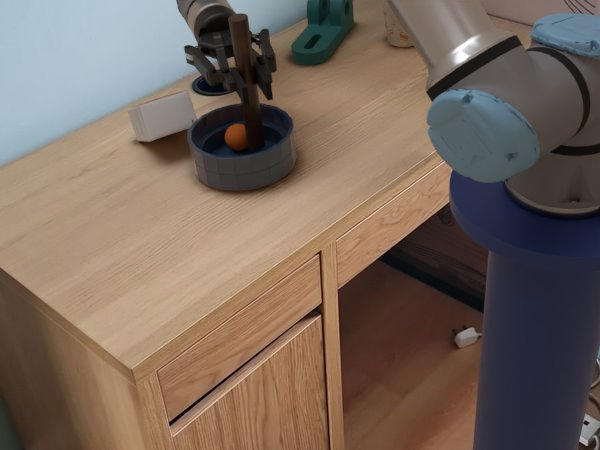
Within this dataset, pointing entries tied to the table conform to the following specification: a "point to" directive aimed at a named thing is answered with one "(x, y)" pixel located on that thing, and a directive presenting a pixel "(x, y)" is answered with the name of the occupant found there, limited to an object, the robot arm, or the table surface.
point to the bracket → (322, 30)
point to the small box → (162, 116)
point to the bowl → (245, 163)
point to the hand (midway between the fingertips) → (257, 93)
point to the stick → (247, 79)
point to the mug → (394, 28)
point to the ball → (236, 137)
